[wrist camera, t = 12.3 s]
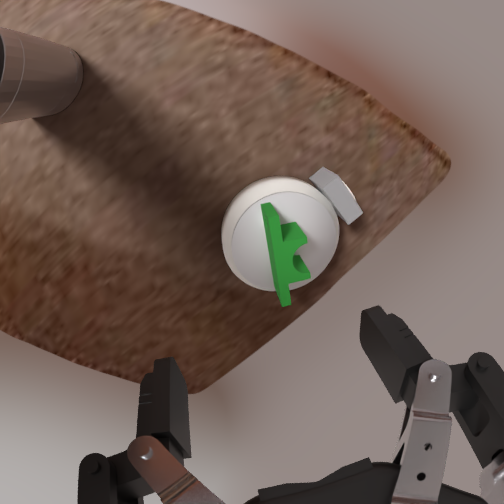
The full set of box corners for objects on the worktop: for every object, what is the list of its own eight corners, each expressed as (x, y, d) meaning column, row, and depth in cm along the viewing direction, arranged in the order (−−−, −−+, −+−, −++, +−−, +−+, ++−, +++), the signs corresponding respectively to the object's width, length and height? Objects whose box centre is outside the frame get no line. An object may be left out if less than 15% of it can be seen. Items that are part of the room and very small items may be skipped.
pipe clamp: (302, 279, 40) (312, 299, 36) (273, 285, 40) (281, 307, 36) (292, 197, 35) (304, 210, 31) (260, 203, 35) (268, 218, 31)
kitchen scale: (268, 297, 46) (275, 318, 42) (196, 228, 40) (196, 245, 35) (364, 221, 43) (381, 235, 38) (305, 137, 36) (318, 142, 32)
